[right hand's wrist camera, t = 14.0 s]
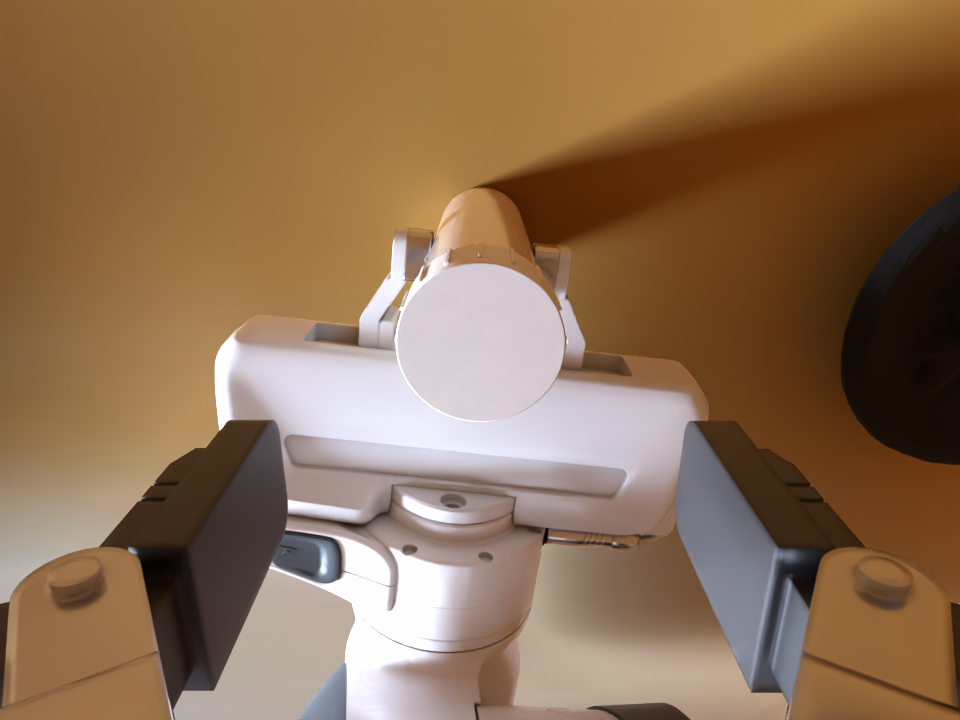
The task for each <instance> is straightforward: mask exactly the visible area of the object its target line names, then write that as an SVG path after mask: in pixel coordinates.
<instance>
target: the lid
mask: <svg viewBox="0 0 960 720" xmlns="http://www.w3.org/2000/svg"><path fill="white" fill-rule="evenodd" d="M399 310H400V311H402V313H401V315H400V318H399V321H398V326H397V330H396V336H395V342H396V353H397V358H398V362H399V365H400V368H401V371H402V373H403V375H404V377H405V379H406V381H407V382H408V384H409V385H410V387H411V388H412V390H413V391H414V392H415V393H416V394H417V395H418V396H419V397H420V398H421V399H422V400H423V401H424V402H425V403H427V404H428V405H429V406H431V407H432V408H434V409H435V410H437V411H439V412H441V413H443V414H445V415H448V416H450V417H453V418H456V419H460V420H465V421H473V422H489V421H497V420H501V419H505V418H509V417H511V416H514V415H517V414H519V413H521V412H523V411H524V410H526V409H528V408H529V407H531V406H532V405H534V404H535V403H536V402H537V401H539V400H540V399H541V398H542V397H543V396H544V395H545V394H546V393H547V391H548V390H549V389H550V388H551V386H552V385H553V383H554V382H555V380H556V378H557V376H558V374H559V372H560V370H561V367H562V364H563V361H564V355H565V348H566V341H567V337H566V334H565V328H564V324H563V320H562V317H561V314H560V310H562V307H561V305H560V302H559V300H558V297H557V294H556V292H555V290H554V291H552V290H551V287H550V285H549V284H548V282H547V280H546V278H545V277H544V276H543V274H542V272H541V269H540V267H539V266H538V265H537V266H536V267H535V265H534V264H532V263H531V262H530V261H529V260H527V259H526V258H525V257H523V256H521V255H519V254H518V253H516V252H515V251H514V249H513V248H510V250H509V249H506V248H502V247H499V246H493V245H483V242H479V245H469V246H463V247H459V248H456V249H453V250H452V249H451V248H449V249H447V252H446V253H444V254H442V255H441V256H439V257H437V258H436V259H435V260H433V261H432V262H431V263H429V264H428V265H427V266H425V265H424V266H423V267H422V268H421V271H420V274H419V276H418V277H417V278H416V280H415V282H414V283H413V285H412V287H411V289H410V291H406V294H405V296H404V299H403V301H402V304H401V306H400V309H399Z"/></svg>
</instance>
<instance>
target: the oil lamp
mask: <svg viewBox="0 0 960 720" xmlns="http://www.w3.org/2000/svg"><path fill="white" fill-rule="evenodd" d="M841 379H842V385H843V389H844V392H845V395H846V398H847V401H848V403H849V405H850V407H851V409H852V411H853V413H854V415H855V416H856V418H857V420H858V421H859V422H860V423H861V424H862V425H863V426H864V428H865V429H866V430H867V431H868V433H869V434H870V435H871V436H873V437H874V438H875V439H876V440H878V441H879V442H881V443H882V444H883V445H885V446H887V447H889V448H891V449H893V450H896V451H898V452H900V453H903V454H905V455H908V456H911V457H914V458H917V459H920V460H923V461H927V462H931V463H941V464H951V465H959V464H960V187H959V188H958V189H956V190H954V191H953V192H951V193H950V194H948V195H947V196H945V197H944V198H943V199H941V200H940V201H938V202H937V203H936V204H934V205H933V206H932V207H930V208H929V209H928V210H927V211H925V212H924V213H922V214H921V215H920V216H918V217H917V218H916V219H915V220H914V221H913V222H912V223H911V224H910V225H909V226H908V227H907V228H906V229H905V230H904V231H903V232H902V233H901V234H900V235H899V236H898V237H897V239H896V240H895V241H894V242H893V243H892V244H891V246H890V247H889V248H888V249H887V250H886V252H885V253H884V254H883V256H882V257H881V258H880V260H879V261H878V262H877V264H876V265H875V266H874V268H873V269H872V271H871V272H870V274H869V276H868V277H867V279H866V281H865V282H864V284H863V286H862V288H861V289H860V291H859V293H858V295H857V297H856V299H855V302H854V305H853V307H852V310H851V312H850V315H849V319H848V322H847V326H846V330H845V334H844V340H843V346H842V352H841Z"/></svg>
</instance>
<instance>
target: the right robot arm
mask: <svg viewBox="0 0 960 720" xmlns="http://www.w3.org/2000/svg"><path fill="white" fill-rule="evenodd" d="M675 512H676V523H677V528H678V532H679V536H680V538H681V541H682V543H683V545H684V547H685V549H686V551H687V554H688V556H689V558H690V560H691V562H692V565H693V567H694V569H695V571H696V573H697V576H698V578H699V580H700V582H701V584H702V586H703V589H704V591H705V593H706V595H707V597H708V600H709V602H710V604H711V606H712V608H713V610H714V613H715V615H716V617H717V619H718V621H719V624H720V626H721V628H722V630H723V632H724V634H725V637H726V639H727V641H728V643H729V645H730V648H731V650H732V652H733V654H734V656H735V658H736V661H737V663H738V665H739V667H740V669H741V672H742V674H743V676H744V678H745V680H746V682H747V685H748V687H749V689H750V691H751V693H783V695H784V696H785V698H786V700H787V702H788V708H787V712H786V717H785V720H960V604H956V603H952V602H950V598H949V595H948V593H947V592H946V590H945V588H944V587H943V586H942V585H941V583H940V582H939V581H938V580H936V579H935V578H934V577H933V576H932V575H931V574H929V573H928V572H927V571H925V570H924V569H922V568H921V567H919V566H917V565H916V564H914V563H912V562H910V561H908V560H906V559H903V558H901V557H898V556H896V555H893V554H890V553H887V552H884V551H880V550H875V549H870V548H865V546H864V545H863V544H862V543H861V542H860V541H859V539H858V538H857V537H856V536H855V535H854V534H853V532H852V531H851V530H850V529H849V528H848V527H847V526H846V524H845V523H844V522H843V521H842V520H841V519H840V517H839V516H838V515H837V514H836V513H835V512H834V510H833V509H832V508H831V507H830V506H829V505H828V503H824V502H823V498H822V497H821V495H820V494H819V493H818V492H817V491H816V490H815V488H814V487H810V483H809V481H808V480H807V479H806V478H805V477H804V476H803V475H802V473H801V472H800V471H799V470H798V469H797V468H796V466H795V465H794V464H792V463H790V462H789V461H787V460H785V459H784V458H782V457H780V456H779V455H777V454H775V453H774V452H772V451H770V450H769V449H758V448H757V447H756V446H755V444H754V443H753V442H752V441H751V439H750V438H749V437H748V436H747V434H746V433H745V432H744V431H743V429H742V428H741V427H740V426H739V424H738V423H737V422H735V421H689V422H688V423H687V425H686V428H685V431H684V437H683V445H682V453H681V461H680V469H679V477H678V485H677V494H676V504H675ZM287 517H288V498H287V489H286V481H285V473H284V464H283V456H282V448H281V440H280V432H279V428H278V425H277V423H276V422H275V421H274V420H229V421H227V422H226V423H225V425H224V426H223V427H222V428H221V430H220V431H219V432H218V433H217V435H216V436H215V437H214V439H213V440H212V441H211V442H210V444H209V445H208V446H207V447H206V448H195V449H194V450H192V451H190V452H189V453H187V454H185V455H184V456H182V457H181V458H179V459H177V460H176V461H174V462H172V463H171V464H169V466H168V467H167V468H166V469H165V470H164V471H163V473H162V474H161V475H160V476H159V477H158V479H157V480H156V481H155V482H154V486H151V487H150V488H149V489H148V490H147V491H146V493H145V494H144V495H143V496H142V497H141V501H138V502H137V503H136V504H135V505H134V507H133V508H132V509H131V510H130V511H129V513H128V514H127V515H126V516H125V517H124V518H123V520H122V521H121V522H120V523H119V524H118V525H117V527H116V528H115V529H114V530H113V531H112V532H111V534H110V535H109V536H108V537H107V538H106V539H105V541H104V542H103V543H102V544H101V545H100V547H96V548H90V549H85V550H80V551H76V552H73V553H70V554H67V555H64V556H62V557H59V558H57V559H54V560H52V561H50V562H48V563H46V564H44V565H43V566H41V567H39V568H38V569H36V570H35V571H33V572H32V573H31V574H29V575H28V576H27V577H26V578H25V579H24V580H22V581H21V582H20V583H19V585H18V586H17V587H16V588H15V590H14V592H13V593H12V595H11V598H10V602H7V603H3V604H0V720H175V717H174V712H173V709H174V707H175V705H176V703H177V701H178V699H179V697H180V695H181V693H182V691H214V689H215V687H216V685H217V682H218V680H219V678H220V676H221V674H222V671H223V669H224V667H225V665H226V662H227V660H228V658H229V656H230V654H231V651H232V649H233V647H234V645H235V643H236V640H237V638H238V636H239V634H240V631H241V629H242V627H243V625H244V623H245V620H246V618H247V616H248V614H249V612H250V609H251V607H252V605H253V603H254V600H255V598H256V596H257V594H258V592H259V589H260V587H261V585H262V583H263V580H264V578H265V576H266V574H267V572H268V569H269V567H270V565H271V563H272V561H273V558H274V556H275V554H276V552H277V549H278V547H279V545H280V543H281V541H282V538H283V536H284V533H285V529H286V524H287Z"/></svg>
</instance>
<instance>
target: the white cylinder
mask: <svg viewBox="0 0 960 720" xmlns="http://www.w3.org/2000/svg"><path fill="white" fill-rule="evenodd" d="M479 242H483V245H493V246H499V247H502V248H506V249H509V250H510V248H513V249H514V251H515V252H516V253H518V254H519V255H521V256H523V257H525V258H526V259H527V260H529V261H530V262H531V263H532V264H534V265H535V267H536V266H537V264H536V261H535V258H534V254H533V251H532V248H531V245H530V242H529V239H528V236H527V233H526V230H525V227H524V224H523V221H522V218H521V215H520V212H519V210H518V208H517V207H516V205H515V204H514V203H513V201H512V200H511V199H510V198H509V197H507V196H506V195H505V194H503V193H501V192H499V191H497V190H494V189H491V188H473V189H469V190H466V191H464V192H462V193H460V194H459V195H457V196H456V197H455V198H454V199H453V200H452V201H451V202H450V203H449V204H448V206H447V207H446V209H445V211H444V213H443V216H442V219H441V221H440V224H439V227H438V230H437V233H436V236H435V239H434V242H433V245H432V248H431V251H430V253H429V256H428V259H427V262H426V265H425V266H427V265H428V264H429V263H431V262H432V261H433V260H435V259H436V258H437V257H439V256H441V255H442V254H444V253H446V252H447V249H449V248H451V249H452V250H453V249H456V248H459V247H463V246H469V245H479Z"/></svg>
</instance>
